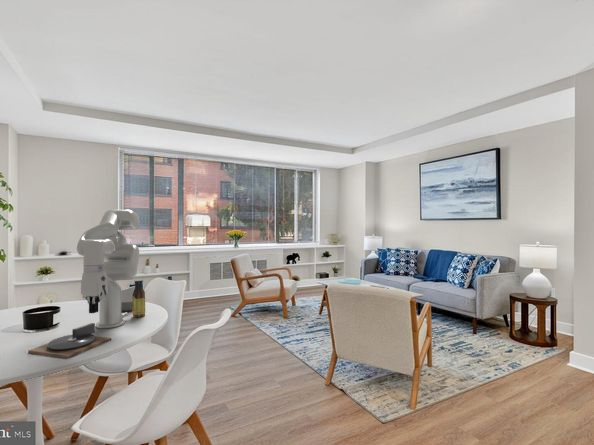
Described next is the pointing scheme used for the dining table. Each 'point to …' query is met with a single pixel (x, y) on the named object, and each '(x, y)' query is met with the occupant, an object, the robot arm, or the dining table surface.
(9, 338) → the dining table surface
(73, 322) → the dining table surface
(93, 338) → the dial
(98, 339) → the dial base plate
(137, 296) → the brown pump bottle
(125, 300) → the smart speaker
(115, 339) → the dining table surface
